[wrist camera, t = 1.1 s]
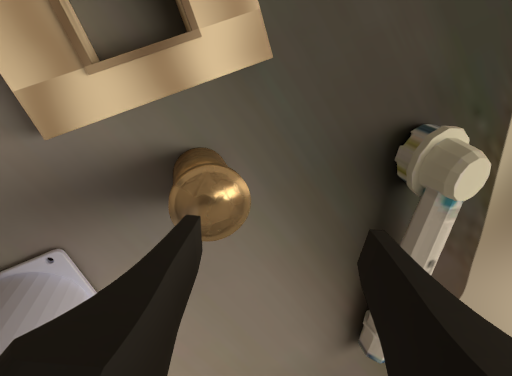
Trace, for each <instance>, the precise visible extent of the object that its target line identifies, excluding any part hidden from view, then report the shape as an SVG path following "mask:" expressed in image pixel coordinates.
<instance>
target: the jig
mask: <svg viewBox="0 0 512 376" xmlns="http://www.w3.org/2000/svg"><path fill="white" fill-rule="evenodd" d="M175 1H176V4H177V6H178V9H179V12H180V14H181V17H182V20H183V22H184V25H185V28H186V30H187V33H184V34H181V35H178V36H175V37H172V38H169V39H166V40H163V41H160V42H157V43H154V44H151V45H148V46H145V47H142V48H139V49H136V50H133V51H130V52H127V53H124V54H121V55H118V56H115V57H112V58H109V59H106V60H103V61H99V59H98V57H97V55H96V53H95V51H94V49H93V47H92V45H91V43H90V41H89V39H88V37H87V35H86V33H85V31H84V29H83V27H82V26H81V24H80V22H79V20H78V18H77V16H76V14H75V12H74V10H73V8H72V6H71V4H70V2H69V0H0V74H1V75H2V77H3V78H4V80H5V81H6V83H7V84H8V86H9V87H10V89H11V90H12V92H13V93H14V95H15V96H16V98H17V99H18V101H19V102H20V104H21V105H22V107H23V108H24V110H25V111H26V113H27V114H28V116H29V117H30V119H31V120H32V122H33V123H34V125H35V126H36V128H37V129H38V131H39V132H40V134H41V135H42V137H43V138H44V140H47V139H50V138H53V137H56V136H58V135H61V134H64V133H67V132H69V131H72V130H75V129H78V128H80V127H83V126H86V125H89V124H91V123H94V122H97V121H100V120H102V119H105V118H108V117H111V116H113V115H116V114H119V113H122V112H124V111H127V110H130V109H133V108H135V107H138V106H141V105H144V104H146V103H149V102H152V101H155V100H157V99H160V98H163V97H166V96H168V95H171V94H174V93H177V92H179V91H182V90H185V89H188V88H190V87H193V86H196V85H199V84H201V83H204V82H207V81H210V80H212V79H215V78H218V77H221V76H223V75H226V74H229V73H232V72H234V71H237V70H240V69H243V68H245V67H248V66H251V65H254V64H256V63H259V62H262V61H265V60H267V59H270V58H273V55H272V52H271V48H270V44H269V40H268V37H267V33H266V29H265V25H264V22H263V18H262V14H261V10H260V7H259V3H258V0H175Z"/></svg>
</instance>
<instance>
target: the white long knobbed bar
mask: <svg viewBox="0 0 512 376" xmlns="http://www.w3.org/2000/svg"><path fill="white" fill-rule="evenodd" d="M394 161H396V162H397V175H398V176H399V177H400V178H401V179H402V180H403V181H405V182H406V183H407V186H408V187H409V188H410V189H411V190H412V192H413V193H414V194H416V195H417V196H419V197H421V198H420V200H419V202H418V205H417V207H416V209H415V211H414V213H413V216H412V218H411V220H410V222H409V225H408V227H407V229H406V231H405V234H404V236H403V238H402V240H401V243H400V246H401V247H402V248H403V249H404V250H405V251H406V252H407V253H408V254H409V255H410V256H411V257H412V258H413V259H414V260H415V261H416V262H417V263H418V264H419V265H420V266H421V267H422V268H423V269H424V270H425V271H426V272H427V273H429V274H430V275H431V274H432V272H433V270H434V267H435V265H436V263H437V260H438V258H439V256H440V254H441V251H442V249H443V247H444V244H445V242H446V240H447V237H448V235H449V233H450V231H451V228H452V226H453V224H454V221H455V219H456V217H457V214H458V212H459V210H460V208H461V205H462V203H463V201H466V200H467V199H469V198H471V197H472V196H474V195H475V194H476V193H477V192H478V191H479V190H480V189H481V188H482V187H483V186H484V184H485V182H486V180H487V178H488V176H489V175H490V168H491V163H490V162H489V160H488V158H487V157H486V156H485V155H484V153H483V152H482V151H481V150H479V149H477V148H475V147H473V146H471V145H469V138H468V136H467V134H466V133H465V131H464V130H463V129H462V128H459V127H456V126H442V127H439V126H436V125H431V124H422V125H421V126H419V127H417V128H416V129H414V130H413V131H411V136H410V138H409V139H408V140H407V141H406V143H405V144H404V145H400V146H399V149H398V152H397V155H396V157H395V160H394ZM363 324H364V326H363V329H362V331H361V334H360V337H359V340H358V344H359V346H360V347H361V349H362V351H363V352H364V354H365V356H367V357H369V358H371V359H372V360H374V361H376V362H378V363H384V362H385V360H384V355H383V351H382V347H381V344H380V340H379V337H378V334H377V331H376V328H375V325H374V322H373V319H372V316H371V313H370V310H368V311H366V313H365V317H364V321H363Z"/></svg>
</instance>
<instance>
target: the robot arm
mask: <svg viewBox="0 0 512 376" xmlns="http://www.w3.org/2000/svg"><path fill="white" fill-rule="evenodd" d="M201 255H202V234H201V217H200V216H197V215H185V216H184V217H183V218H182V219H181V220H180V221H179V222H178V224H177V225H176V226H175V227H174V228H173V229H172V230H171V231H170V232H169V233H168V234H167V235H166V236H165V237H164V238H163V239H162V240H161V241H160V242H159V243H158V244H157V245H156V246H155V247H154V248H153V249H152V250H151V251H150V252H149V253H148V254H147V255H146V256H145V257H143V258H142V259H141V260H140V261H139V262H138V263H137V264H135V265H134V266H133V267H132V268H131V269H129V270H128V271H127V272H126V273H124V274H123V275H122V276H120V277H119V278H118V279H117V280H115V281H114V282H112V283H111V284H110V285H108V286H107V287H105V288H104V289H102V290H101V291H99V292H98V293H97V292H96V291H95V290H94V288H93V287H92V286H91V285H90V283H89V282H88V281H87V279H86V278H85V277H84V275H83V274H82V273H81V272H80V270H79V269H78V268H77V266H76V265H75V264H74V263H73V261H72V260H71V259H70V257H69V256H68V255H67V254H66V252H65V251H64V250H61V249H54V250H52V251H49V252H47V253H45V254H42V255H40V256H37V257H35V258H33V259H30V260H28V261H25V262H23V263H21V264H18V265H16V266H13V267H11V268H9V269H6V270H4V271H1V272H0V376H167V374H168V370H169V365H170V361H171V357H172V353H173V348H174V344H175V340H176V336H177V332H178V329H179V325H180V322H181V319H182V316H183V313H184V310H185V308H186V305H187V302H188V299H189V296H190V293H191V290H192V287H193V285H194V282H195V279H196V276H197V273H198V269H199V264H200V260H201ZM49 257H50V258H52V259H53V261H50V260H48V259H47V258H49ZM357 265H358V270H359V276H360V281H361V286H362V289H363V292H364V295H365V298H366V301H367V304H368V307H369V310H370V313H371V316H372V319H373V322H374V325H375V328H376V331H377V334H378V337H379V340H380V344H381V347H382V351H383V355H384V360H385V364H386V368H387V373H388V376H512V337H510V336H509V335H507V334H506V333H504V332H503V331H501V330H500V329H499V328H497V327H496V326H494V325H493V324H491V323H490V322H488V321H487V320H485V319H484V318H483V317H481V316H480V315H479V314H477V313H476V312H474V311H473V310H472V309H471V308H469V307H468V306H467V305H465V304H464V303H463V302H461V301H460V300H459V299H458V298H456V297H455V296H454V295H453V294H452V293H450V292H449V291H448V290H447V289H446V288H444V287H443V286H442V285H441V284H440V283H439V282H438V281H436V280H435V279H434V278H433V277H432V276H431V275H430V274H429V273H427V272H426V271H425V270H424V269H423V268H422V267H421V266H420V265H419V264H418V263H417V262H416V261H415V260H414V259H413V258H412V257H411V256H410V255H409V254H408V253H407V252H406V251H405V250H404V249H403V248H402V247H401V246H400V245H399V244H398V243H397V242H396V241H394V240H393V239H392V238H391V237H390V236H389V235H388V234H387V233H386V232H385V231H382V230H369V233H368V235H367V238H366V241H365V243H364V246H363V249H362V252H361V254H360V257H359V260H358V263H357Z"/></svg>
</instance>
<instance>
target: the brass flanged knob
mask: <svg viewBox="0 0 512 376" xmlns="http://www.w3.org/2000/svg"><path fill="white" fill-rule="evenodd" d="M250 205H251V198H250V192H249V189H248V187H247V185H246V183H245V182H244V180H243V179H242V178H241V176H240V175H239V174H238V173H237V172H235V171H234V170H233V169H231V168H229V167H228V166H227V165H226V163H225V162H224V160H223V159H222V157H221V156H220V155H219V154H218V153H216V152H215V151H213V150H211V149H208V148H193V149H190V150H188V151H186V152H185V153H183V154H182V155H181V156H180V157H179V158H178V160H177V161H176V163H175V166H174V169H173V186H172V188H171V191H170V194H169V214H170V218H171V220H172V222H173V224H174V225H175V226H176V225H177V224H178V222H179V221H180V220H181V219H182V218H183V217H184V216H185V215H197V216H200V217H201V234H202V241H216V240H220V239H223V238H225V237H227V236H229V235H231V234H232V233H234V232H235V231H236V230H238V229H239V228H240V227H241V226H242V224H243V223H244V222H245V220H246V218H247V216H248V213H249V210H250Z"/></svg>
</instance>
